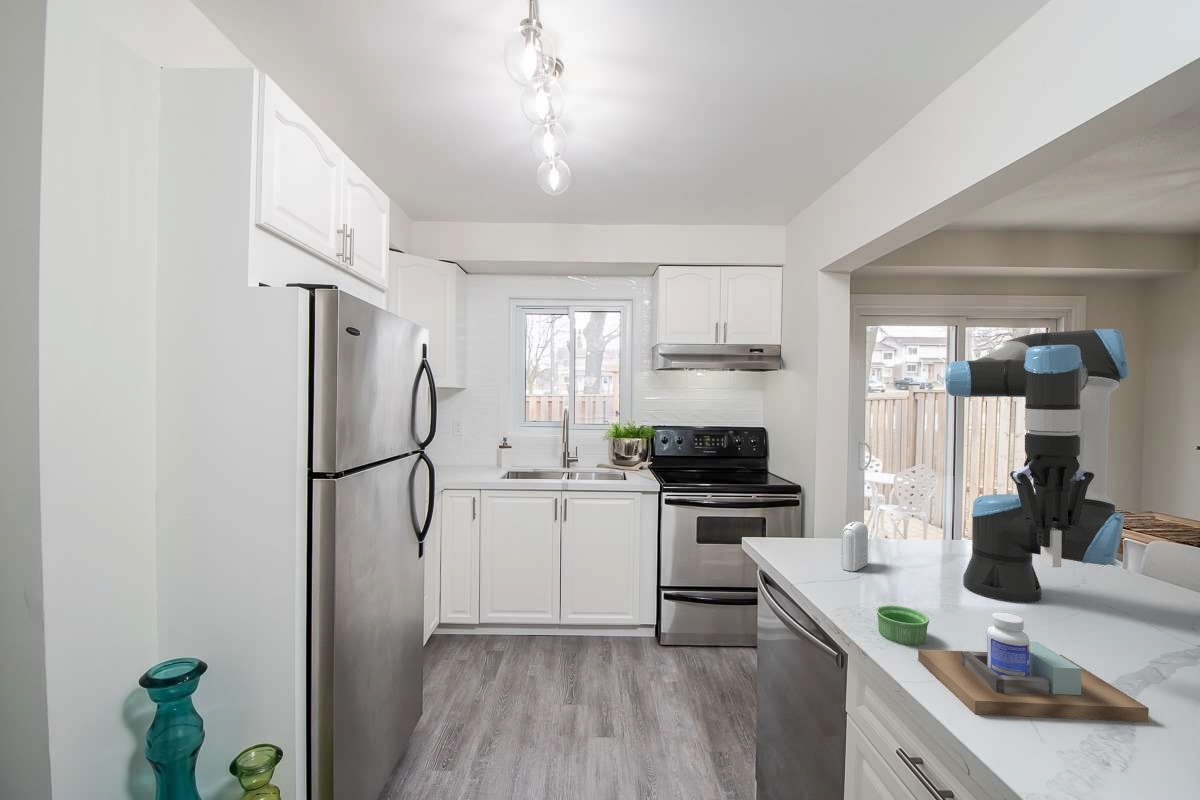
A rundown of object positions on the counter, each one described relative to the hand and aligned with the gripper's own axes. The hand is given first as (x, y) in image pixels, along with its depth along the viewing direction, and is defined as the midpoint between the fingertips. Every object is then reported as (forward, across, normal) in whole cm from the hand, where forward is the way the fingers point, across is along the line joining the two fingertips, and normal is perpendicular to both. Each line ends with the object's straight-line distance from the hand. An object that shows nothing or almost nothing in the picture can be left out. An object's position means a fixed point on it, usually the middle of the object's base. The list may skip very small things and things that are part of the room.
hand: (1050, 564), depth 96 cm
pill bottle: (+15, +15, +11) cm, 24 cm away
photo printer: (+18, +13, -50) cm, 55 cm away
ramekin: (+17, +22, -8) cm, 29 cm away
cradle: (+16, +12, +10) cm, 23 cm away
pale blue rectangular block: (+14, +10, +12) cm, 21 cm away
